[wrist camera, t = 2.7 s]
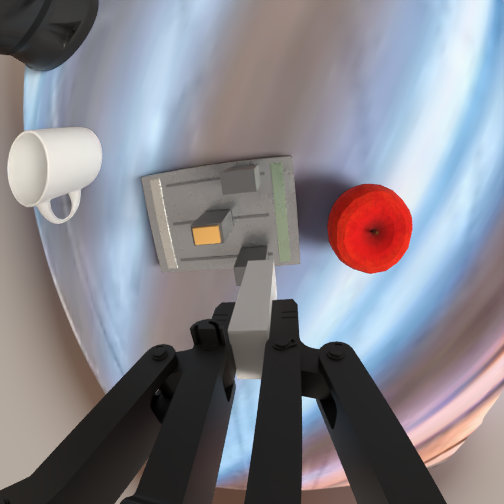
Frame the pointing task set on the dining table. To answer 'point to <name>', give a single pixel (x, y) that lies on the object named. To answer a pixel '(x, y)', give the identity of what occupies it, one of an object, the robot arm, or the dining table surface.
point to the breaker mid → (212, 228)
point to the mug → (53, 167)
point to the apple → (369, 228)
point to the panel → (212, 199)
